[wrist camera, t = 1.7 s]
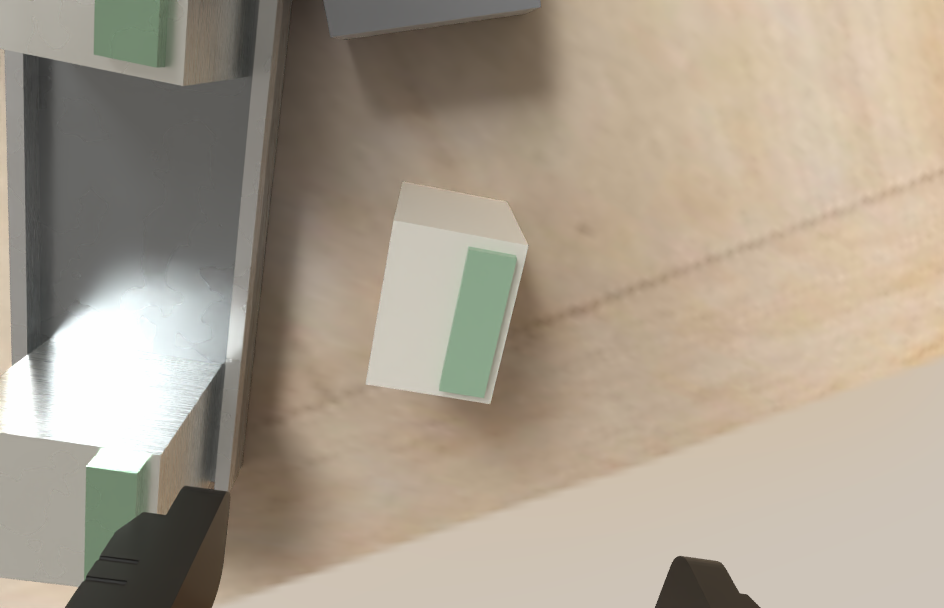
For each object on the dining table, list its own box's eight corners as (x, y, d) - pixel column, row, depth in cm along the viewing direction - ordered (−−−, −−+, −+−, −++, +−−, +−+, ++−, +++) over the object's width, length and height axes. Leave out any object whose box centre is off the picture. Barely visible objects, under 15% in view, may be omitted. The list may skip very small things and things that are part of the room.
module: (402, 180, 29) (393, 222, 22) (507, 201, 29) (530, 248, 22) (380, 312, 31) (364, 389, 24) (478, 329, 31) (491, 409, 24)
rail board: (42, -151, 24) (-176, -262, 15) (301, -89, 25) (232, -161, 16) (45, 438, 32) (-98, 580, 23) (241, 466, 33) (174, 611, 24)
